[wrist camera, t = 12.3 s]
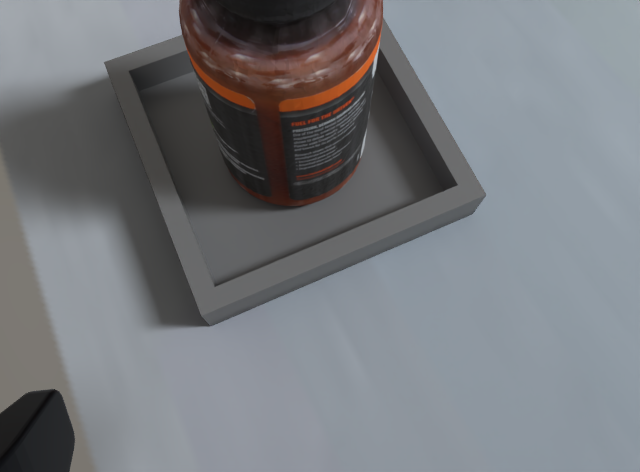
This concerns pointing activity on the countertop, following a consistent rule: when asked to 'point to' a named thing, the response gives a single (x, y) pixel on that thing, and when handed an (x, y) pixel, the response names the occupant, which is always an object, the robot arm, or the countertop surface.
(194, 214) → the grey square tray
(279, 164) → the supplement bottle
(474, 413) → the countertop surface
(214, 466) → the countertop surface
